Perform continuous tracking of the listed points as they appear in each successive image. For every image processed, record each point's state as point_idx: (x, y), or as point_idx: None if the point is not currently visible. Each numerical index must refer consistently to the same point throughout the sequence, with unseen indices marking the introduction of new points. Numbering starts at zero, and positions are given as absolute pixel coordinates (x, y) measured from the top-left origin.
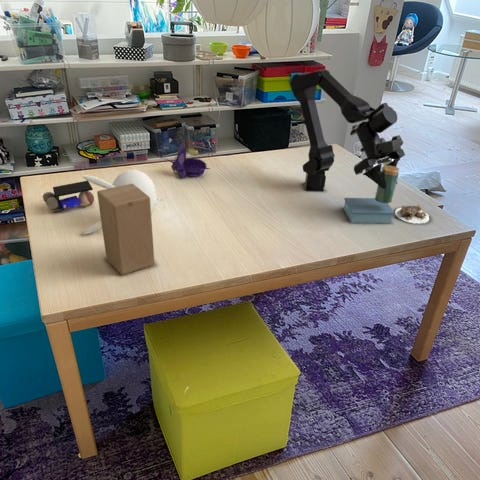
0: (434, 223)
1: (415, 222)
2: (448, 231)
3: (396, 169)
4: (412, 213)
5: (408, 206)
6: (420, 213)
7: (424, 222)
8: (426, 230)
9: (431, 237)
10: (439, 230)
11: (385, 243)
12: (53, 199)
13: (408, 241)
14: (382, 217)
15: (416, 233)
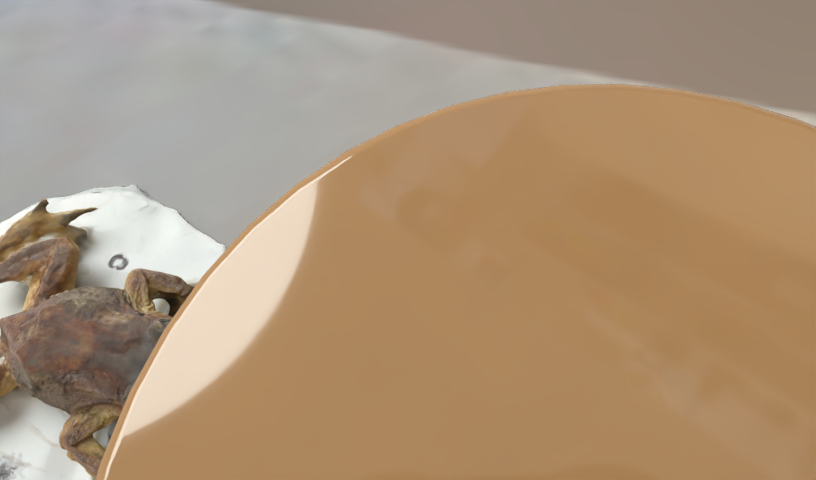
0: (58, 146)
1: (193, 239)
2: (111, 13)
3: (454, 236)
4: (144, 284)
5: (74, 371)
6: (54, 253)
7: (129, 189)
8: (246, 107)
9: (322, 23)
10: (154, 55)
11: None
12: None
13: (547, 73)
14: None
15: (370, 118)
